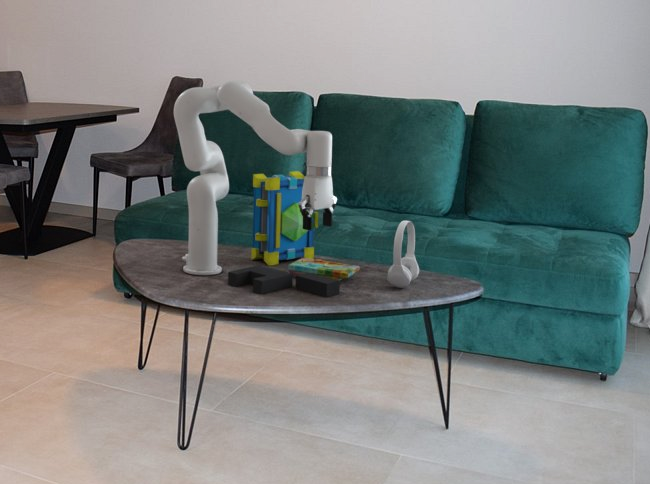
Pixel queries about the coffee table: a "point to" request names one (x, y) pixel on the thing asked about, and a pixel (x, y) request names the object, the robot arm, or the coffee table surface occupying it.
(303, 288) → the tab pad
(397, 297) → the coffee table surface
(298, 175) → the blue tall framed box
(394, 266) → the headphones
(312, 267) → the puzzle game
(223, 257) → the coffee table surface
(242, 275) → the notch pad
